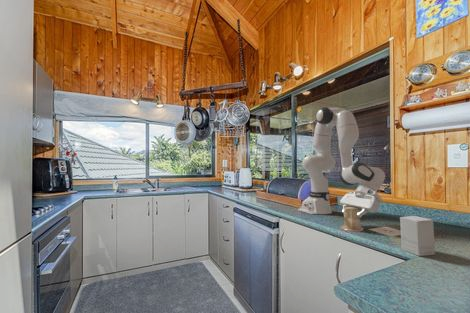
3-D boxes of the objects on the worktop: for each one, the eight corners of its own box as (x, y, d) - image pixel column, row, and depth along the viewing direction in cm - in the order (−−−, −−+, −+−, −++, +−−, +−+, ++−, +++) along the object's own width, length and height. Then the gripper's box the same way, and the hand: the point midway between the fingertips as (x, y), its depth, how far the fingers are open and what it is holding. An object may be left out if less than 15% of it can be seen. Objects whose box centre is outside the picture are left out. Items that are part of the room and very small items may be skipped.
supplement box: (436, 254, 84) (434, 219, 84) (418, 256, 82) (417, 221, 83) (416, 247, 91) (415, 215, 91) (400, 249, 90) (399, 216, 90)
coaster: (337, 228, 118) (337, 227, 118) (347, 225, 124) (347, 224, 124) (357, 233, 110) (357, 232, 110) (367, 229, 116) (367, 228, 116)
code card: (368, 229, 115) (368, 229, 115) (385, 226, 119) (385, 226, 119) (391, 236, 104) (391, 236, 104) (409, 233, 108) (409, 233, 108)
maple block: (344, 227, 118) (343, 207, 119) (351, 226, 120) (351, 206, 120) (352, 229, 114) (351, 209, 114) (359, 228, 115) (359, 208, 116)
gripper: (345, 188, 129) (331, 207, 126) (378, 192, 110) (364, 214, 107) (351, 195, 131) (338, 214, 127) (385, 200, 112) (371, 223, 108)
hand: (350, 214), depth 117 cm, fingers open, 8 cm apart
